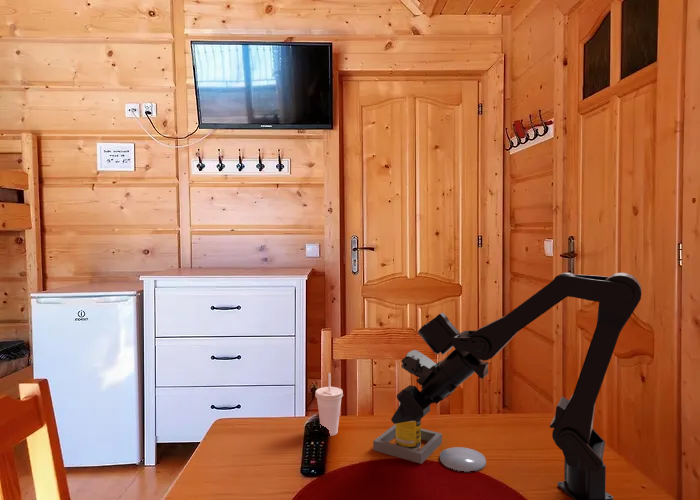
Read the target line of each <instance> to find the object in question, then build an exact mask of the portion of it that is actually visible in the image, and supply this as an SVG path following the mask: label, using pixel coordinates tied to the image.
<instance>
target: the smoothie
mask: <svg viewBox="0 0 700 500" xmlns="http://www.w3.org/2000/svg"><path fill="white" fill-rule="evenodd" d="M331 374H332V373H331V372H328V374H327V375H328V378H327V380H328V381H327V382H328V386H324V387H323V386H322V387H320V388H317V389H316V390H315V393H314V394H315V395H314V396H315V398H316V399H317V400H316V402H317V409H318V416H319V423H320V424H321V425H322V426H324V427H326V428H327V429H328V430H329V433H330V436H329V437H333V436H335V435H337V434H338V431H339V423H340V413H341V404H342V397H344V393H343V389H342V388H340V387H336V386H332V380H331V379H332V375H331ZM321 425H320V426H321Z"/></svg>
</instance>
